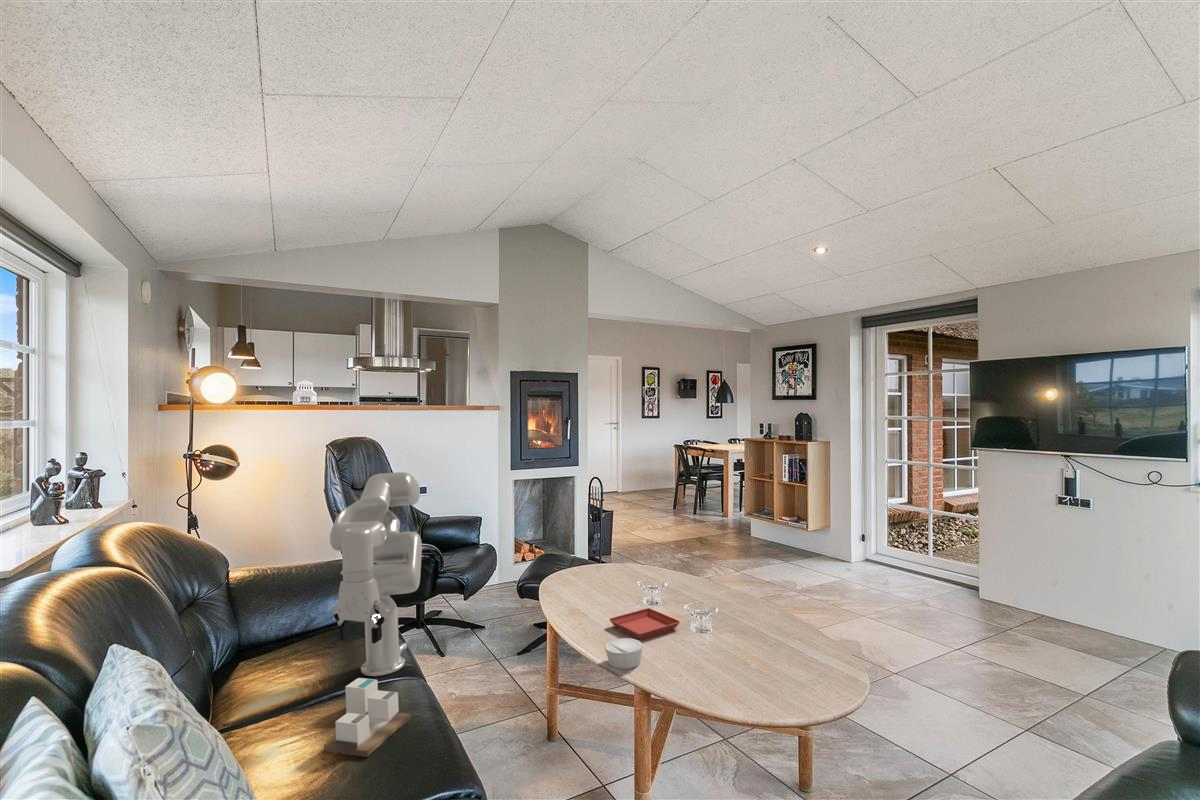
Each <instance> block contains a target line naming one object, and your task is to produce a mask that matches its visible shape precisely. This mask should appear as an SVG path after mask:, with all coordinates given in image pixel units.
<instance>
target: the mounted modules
mask: <svg viewBox="0 0 1200 800" xmlns="http://www.w3.org/2000/svg"><path fill="white" fill-rule="evenodd" d="M367 702H368V715H363V714H355V713H346V712H345V714H344V715H342V716H341V717H340V718H338V719H337V720H336V721H335V723H334V724H335V736H336V740H339V741H347V742H354V743H357V746H358V745H359V744H361V743H362V742H363V741H364V740H365V739H367V738H368V737H369V736H370V732H369V718H377V719H385V720H389V719H390V718H392V717H393V716H394V715H395V714H396V713H398V712H399V713H400V707H399V693H398V691H397V692H396V691H395V692H394V691H389V690H388V691H387V690H379V689H378V691H376V692H375V693H373V694H372V695H371V696H369V697H368V698H367Z"/></svg>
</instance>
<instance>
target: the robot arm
mask: <svg viewBox="0 0 1200 800" xmlns="http://www.w3.org/2000/svg"><path fill="white" fill-rule="evenodd" d="M420 497H421V489H420V486H419V483H418V481H417V479H416V478H415V477H414V476H413V475H412V474H411V473H408V472H405V471H403V472H402V471H400V472H383V473H378V474H377V473H376V474H373V475H371V476H370V477H369V478H368V479H367V481H366V483H365V486H364V488H363V491H362V494H361V497H360V499H358V500H357V501H355V502H354V503H351V504H350V505H349V506H347V507H345V508H344V509H343V510H341V511H340V512H339V513H338V514H337V516H336V517H335V520H334V522H333V525H332V528H331V530H330V534H329V544H330V546H331V547H332V549H333V550H334V551H337V552H341V557H342V559H341V560H342V561H341V562H342V570H340V575H341V576H342V580H341V581H340V584H339V589H338V596H337V597H338V599H337V603H336V604H335V605H333V606H331V611H332V614H333V618H334V619H335V620H336V621H337V625H338V626H339V632H340V633H339V636H340V641H341V642H343V641H345V640H347V639H349V638H351V636H352V629H351V626H352V625H351V622H359V623H360V622H361V623H364V635H365V636H364V637H365V662H364V663H363V664H362V665H361V666H360V672H361V674H363V675H364V676H367V677H368V676H369V677H379V676H385V675H389V674H393V673H395V672H397V671H399V670H400V669H402V668H403V667H404V665H405V663H406V659H405V657H403V656H402V652H403V651H404V650H405V651H406V649H407V648H408V644H407V643H405V642H403V643H402V644H400V643H399V617H398V616H399V615H398V607H397V604H396V602H395V601H394V599H393V598H392V597H391V595H402V594H403V595H404V594H410V593H414V592H416V591H417V590H418V589H419V586H420V582H421V569H422V554H423V552H422V551H423V548H422V547H423V544H422V543H423V542H422V538H421V536H420V534H419V533H418V532H416V531H400V527H401V521H400V519H399V518H398V516H397V515H396V514H395V513H394V512H393V511H391V509H389V508H390V507H400V506H401V507H403V506H414V505H416V504H417V503H418V501H419V500H420Z"/></svg>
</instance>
